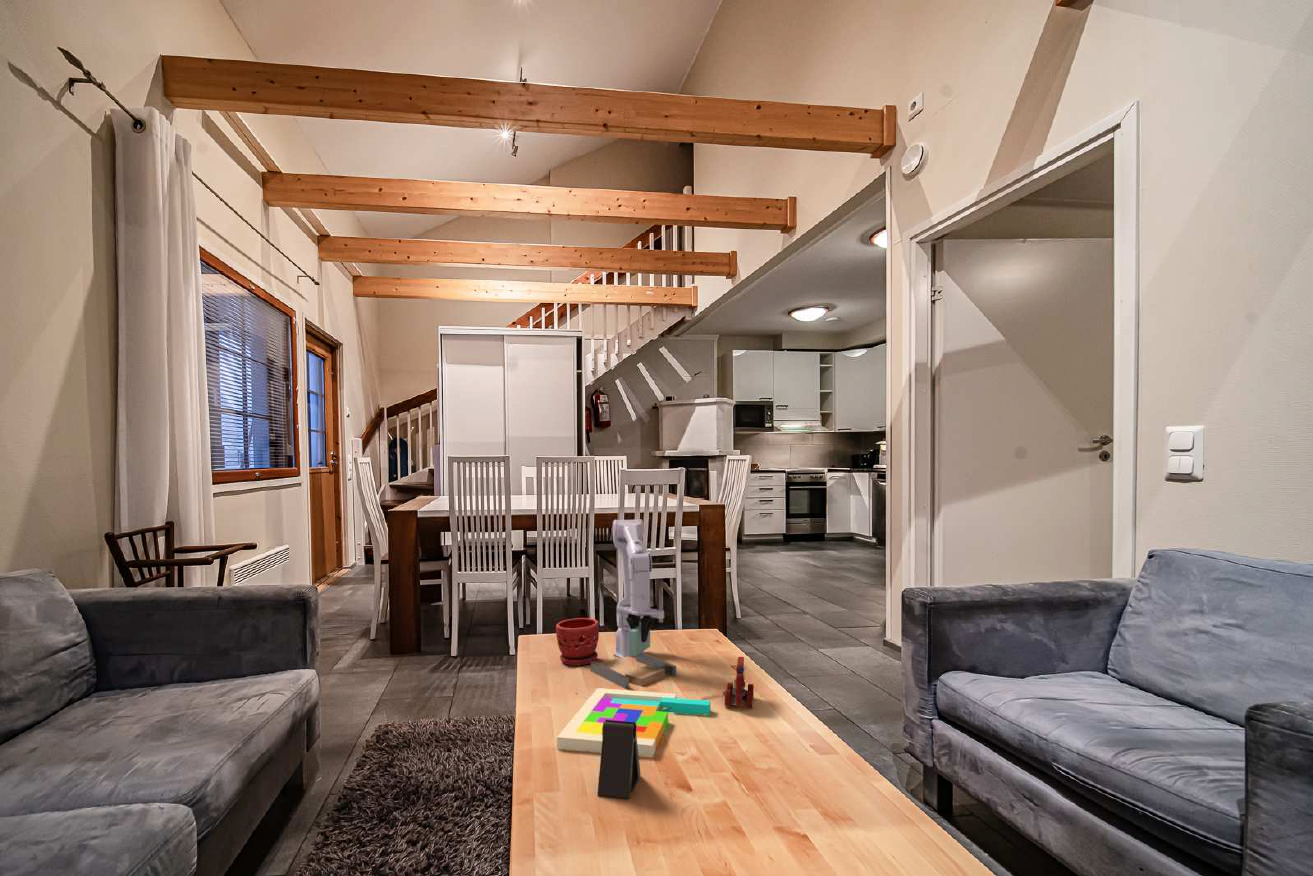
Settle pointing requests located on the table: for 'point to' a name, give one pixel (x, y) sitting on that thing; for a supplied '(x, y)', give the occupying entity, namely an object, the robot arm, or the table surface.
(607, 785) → the phone stand
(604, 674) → the rack
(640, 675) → the offcut upper
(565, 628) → the plant pot
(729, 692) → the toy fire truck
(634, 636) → the teal board
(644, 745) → the puzzle game
